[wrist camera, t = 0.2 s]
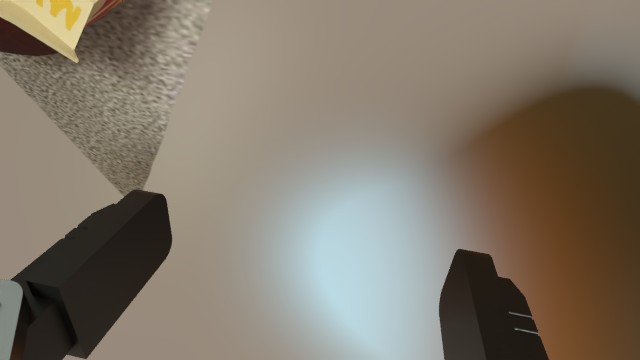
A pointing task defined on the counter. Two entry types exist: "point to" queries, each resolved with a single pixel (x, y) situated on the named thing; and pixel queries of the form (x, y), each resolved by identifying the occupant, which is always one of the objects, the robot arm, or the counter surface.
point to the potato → (21, 41)
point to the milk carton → (55, 19)
